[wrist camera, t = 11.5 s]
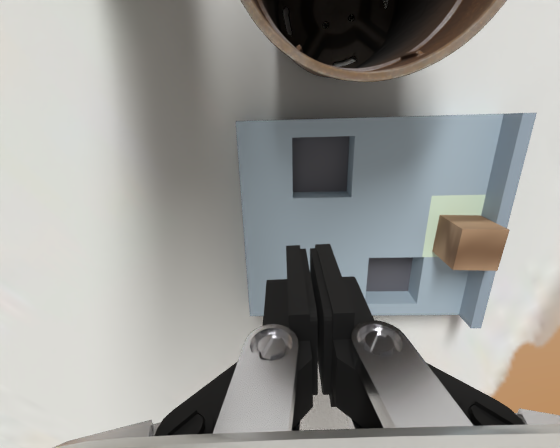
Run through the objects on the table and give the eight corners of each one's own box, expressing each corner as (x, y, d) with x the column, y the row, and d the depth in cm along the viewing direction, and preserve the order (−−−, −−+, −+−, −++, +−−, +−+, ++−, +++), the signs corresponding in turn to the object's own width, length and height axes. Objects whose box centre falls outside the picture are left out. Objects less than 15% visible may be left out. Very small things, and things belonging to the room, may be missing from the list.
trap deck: (240, 121, 32) (231, 121, 27) (495, 114, 31) (536, 112, 26) (252, 302, 40) (247, 329, 35) (455, 300, 39) (481, 328, 34)
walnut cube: (439, 214, 32) (462, 229, 28) (480, 215, 32) (509, 229, 28) (432, 251, 34) (452, 270, 30) (470, 251, 34) (497, 270, 29)
